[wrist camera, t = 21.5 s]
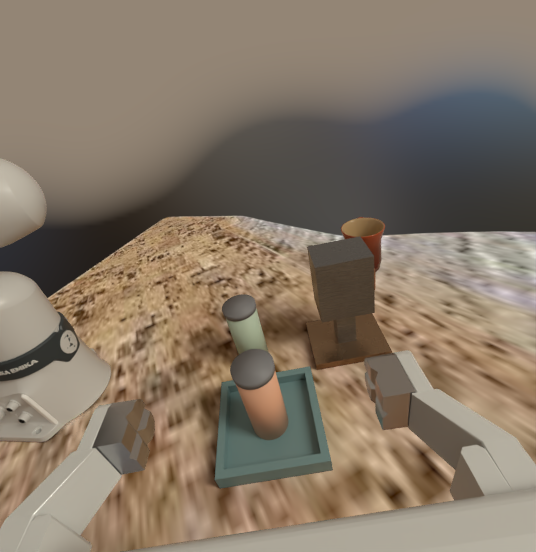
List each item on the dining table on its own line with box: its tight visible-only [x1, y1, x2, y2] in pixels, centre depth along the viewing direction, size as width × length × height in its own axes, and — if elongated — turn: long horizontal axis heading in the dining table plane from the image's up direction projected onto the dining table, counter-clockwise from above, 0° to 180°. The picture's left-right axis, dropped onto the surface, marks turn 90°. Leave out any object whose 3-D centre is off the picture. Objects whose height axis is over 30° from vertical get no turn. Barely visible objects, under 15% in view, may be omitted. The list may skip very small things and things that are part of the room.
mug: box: [341, 217, 385, 272], centre depth 69 cm, size 12×9×10 cm
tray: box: [215, 367, 333, 488], centre depth 44 cm, size 14×14×2 cm
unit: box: [306, 236, 392, 370], centre depth 49 cm, size 12×10×18 cm
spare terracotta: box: [230, 349, 288, 440], centre depth 40 cm, size 5×5×12 cm
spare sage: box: [222, 295, 269, 354], centre depth 52 cm, size 5×5×12 cm
